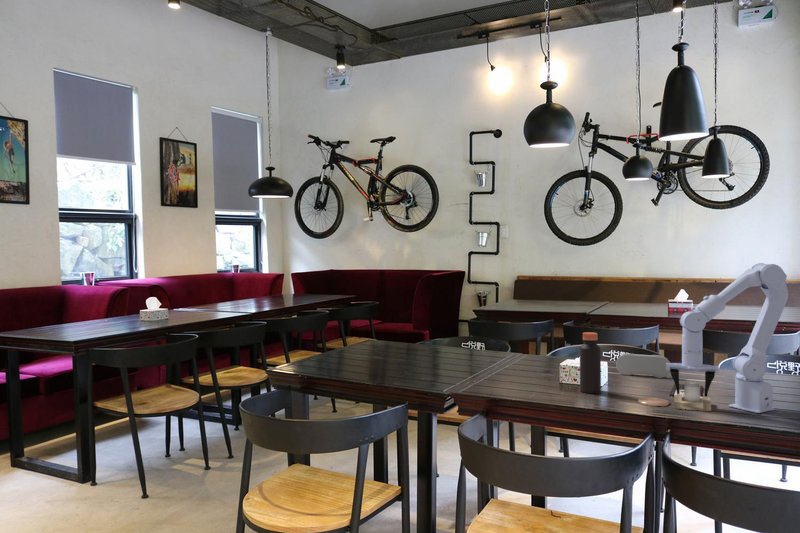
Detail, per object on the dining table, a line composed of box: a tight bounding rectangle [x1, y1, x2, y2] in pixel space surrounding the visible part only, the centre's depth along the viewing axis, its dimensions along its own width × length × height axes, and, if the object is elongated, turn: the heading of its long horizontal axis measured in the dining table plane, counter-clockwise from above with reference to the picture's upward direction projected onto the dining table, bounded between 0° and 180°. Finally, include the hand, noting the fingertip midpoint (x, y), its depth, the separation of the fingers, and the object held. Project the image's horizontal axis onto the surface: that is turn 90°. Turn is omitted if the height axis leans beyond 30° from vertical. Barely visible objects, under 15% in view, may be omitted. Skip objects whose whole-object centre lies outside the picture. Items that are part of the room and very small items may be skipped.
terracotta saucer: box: [637, 396, 670, 407], centre depth 195 cm, size 9×9×1 cm
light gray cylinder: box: [684, 381, 701, 402], centre depth 191 cm, size 4×4×7 cm
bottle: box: [579, 331, 602, 394], centre depth 211 cm, size 7×7×20 cm
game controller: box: [615, 352, 671, 379], centre depth 235 cm, size 20×2×8 cm, turn 63°
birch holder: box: [673, 395, 712, 412], centre depth 191 cm, size 10×10×2 cm
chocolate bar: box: [669, 383, 704, 398], centre depth 209 cm, size 9×1×18 cm
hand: (691, 394), depth 191 cm, fingers open, 7 cm apart
